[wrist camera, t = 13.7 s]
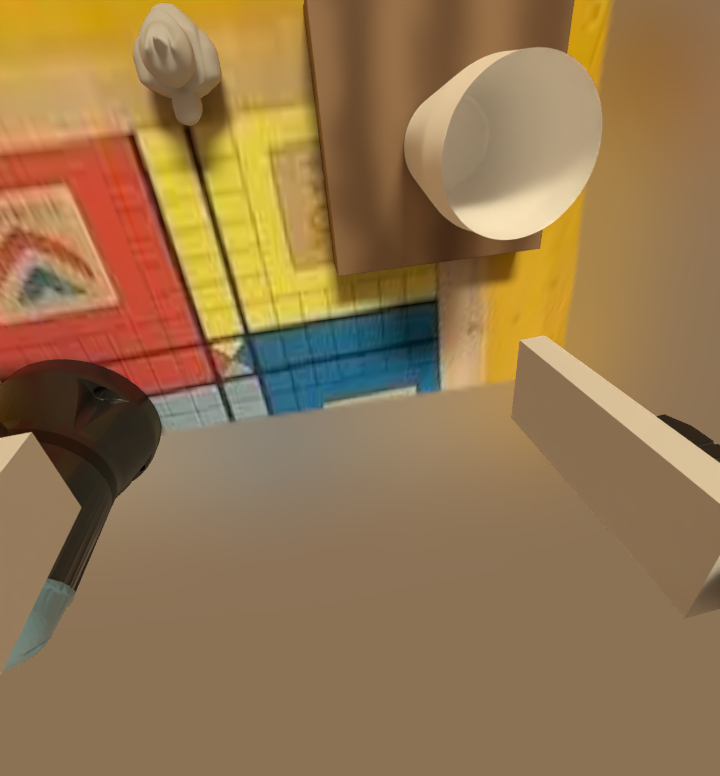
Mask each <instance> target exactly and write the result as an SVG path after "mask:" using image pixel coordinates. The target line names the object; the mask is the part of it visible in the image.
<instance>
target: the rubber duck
mask: <svg viewBox="0 0 720 776" xmlns="http://www.w3.org/2000/svg"><path fill="white" fill-rule="evenodd" d="M133 59H134V63H135V66H136V70H137V73H138V77H139V79H140V81H141V83H142V84H143V85H145V86H146V87H148V88H149V89H151V90H153V91H155V92H157V93H159V94H160V95H162V96H164V97H167V98H171V99H172V105H173V109H174V113H175V117H176V119H177V120H178V121H179V122H180V123H182V124H184V125H188V126H191V125H194V124H196V123H197V122H198V121H199V120H200V118H201V115H202V112H203V107H202V102H201V98H202V97H203V96H205V95H207V94H208V93H210V92H211V90H212V89H213V88H214V87H216V86H217V85H218V84H219V82H220V80H221V68H220V63H219V58H218V53H217V51H216V48H215V46H214V44H213V43H212V41H211V40H210V38H209V37H208V36H207V34H206V33H205V32H204V31H202V30H201V29H200V28H198V26H197V25H196V24H195V23H194V22H193V21H192V20H191V19H190V18H189V17H187V16H186V15H185V14H184V13H183V12H182V11H181V10H180V9H178V8H177V7H176V6H174V5H172V4H169V3H163V4H157V5H155V6H154V7H153V8H152V9H151V10H150V12H149V14H148V15H147V17H146V19H145V20H144V22H143V24H142V26H141V29H140V34H139V35H138V36H137V39H136V41H135V44H134V48H133Z"/></svg>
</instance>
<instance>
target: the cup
mask: <svg viewBox="0 0 720 776" xmlns="http://www.w3.org/2000/svg"><path fill="white" fill-rule="evenodd" d="M601 137H602V109H601V102H600V98H599V94H598V91H597V88H596V86H595V84H594V82H593V80H592V78H591V76H590V75H589V73H588V72H587V70H586V69H585V68H584V67H583V66H582V65H581V64H580V63H579V62H578V61H577V60H576V59H574V58H573V57H572V56H570V55H568V54H566V53H564V52H562V51H559V50H556V49H552V48H546V47H534V48H526V49H520V50H512V51H502V52H497V53H494V54H491V55H488V56H485V57H483V58H481V59H479V60H477V61H475V62H474V63H472V64H470V65H469V66H467V67H466V68H465V69H463V70H462V71H461V72H459V73H458V74H457V75H456V76H454V77H453V78H452V79H451V80H450V81H448V82H447V83H446V84H445V85H444V86H442V87H441V88H440V89H439V90H438V91H436V92H435V93H434V94H433V95H431V96H430V97H429V98H428V99H427V100H425V101H424V102H423V103H422V104H421V105H420V106H419V107H418V109H417V110H416V111H415V113H414V114H413V116H412V118H411V120H410V122H409V125H408V127H407V130H406V135H405V141H404V154H405V160H406V164H407V167H408V169H409V171H410V173H411V175H412V176H413V178H414V179H415V181H416V182H417V183H418V185H419V186H420V187H421V189H422V190H423V191H424V193H425V194H426V195H427V197H428V198H429V199H430V201H431V202H432V203H433V205H434V206H435V207H436V208H437V210H438V211H439V212H440V213H441V214H442V215H443V216H444V217H445V218H446V219H448V220H449V221H450V222H451V223H453V224H455V225H456V226H458V227H460V228H462V229H465V230H468V231H472V232H475V233H477V234H479V235H482V236H484V237H487V238H491V239H497V240H512V239H518V238H523V237H526V236H529V235H531V234H534V233H536V232H538V231H540V230H542V229H544V228H545V227H547V226H548V225H550V224H551V223H553V222H554V221H555V220H557V219H558V218H559V217H560V216H561V215H562V214H563V213H564V212H565V211H566V210H567V209H568V208H569V207H570V206H571V205H572V204H573V202H574V201H575V200H576V199H577V197H578V196H579V194H580V193H581V191H582V190H583V188H584V186H585V185H586V183H587V181H588V179H589V177H590V175H591V173H592V170H593V168H594V165H595V162H596V160H597V156H598V152H599V149H600V143H601Z"/></svg>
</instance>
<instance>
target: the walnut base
mask: <svg viewBox="0 0 720 776" xmlns="http://www.w3.org/2000/svg"><path fill="white" fill-rule="evenodd" d="M573 6H574V0H304V5H303V9H304V17H305V25H306V33H307V42H308V50H309V58H310V67H311V75H312V83H313V91H314V100H315V108H316V116H317V124H318V133H319V141H320V149H321V158H322V166H323V174H324V182H325V191H326V199H327V207H328V215H329V224H330V232H331V240H332V249H333V257H334V264H335V266H336V269H337V272H338V274H339V276H341V275H349V274H356V273H363V272H371V271H378V270H386V269H393V268H400V267H408V266H415V265H422V264H430V263H437V262H445V261H452V260H459V259H467V258H474V257H481V256H489V255H496V254H504V253H511V252H518V251H526V250H533V249H540V245H541V237H542V230H543V229H542V230H540V231H538V232H536V233H534V234H531V235H529V236H526V237H523V238H518V239H512V240H497V239H491V238H487V237H484V236H482V235H479V234H477V233H475V232H472V231H468V230H465V229H462V228H460V227H458V226H456V225H455V224H453V223H451V222H450V221H449V220H448V219H446V218H445V217H444V216H443V215H442V214H441V213H440V212H439V211H438V210H437V208H436V207H435V206H434V205H433V203H432V202H431V201H430V199H429V198H428V197H427V195H426V194H425V193H424V191H423V190H422V189H421V187H420V186H419V185H418V183H417V182H416V181H415V179H414V178H413V176H412V175H411V173H410V171H409V169H408V167H407V164H406V160H405V154H404V141H405V135H406V130H407V127H408V125H409V122H410V120H411V118H412V116H413V114H414V113H415V111H416V110H417V109H418V107H419V106H420V105H421V104H422V103H423V102H424V101H425V100H427V99H428V98H429V97H430V96H431V95H433V94H434V93H435V92H436V91H438V90H439V89H440V88H441V87H442V86H444V85H445V84H446V83H447V82H448V81H450V80H451V79H452V78H453V77H454V76H456V75H457V74H458V73H459V72H461V71H462V70H463V69H465V68H466V67H467V66H469V65H470V64H472V63H474V62H475V61H477V60H479V59H481V58H483V57H485V56H488V55H491V54H494V53H497V52H502V51H512V50H520V49H526V48H534V47H546V48H552V49H556V50H559V51H562V52H564V53H566V54H567V50H568V42H569V35H570V28H571V21H572V14H573Z"/></svg>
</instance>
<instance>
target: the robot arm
mask: <svg viewBox="0 0 720 776" xmlns="http://www.w3.org/2000/svg"><path fill="white" fill-rule="evenodd" d="M511 417H512V419H513V420H514V421H515V422H516V424H517V425H518V426H519V427H520V428H521V430H522V431H523V432H524V433H525V434H526V435H527V436H528V438H529V439H530V440H531V441H532V442H533V443H534V445H535V446H536V447H537V448H538V449H539V450H540V452H541V453H542V454H543V455H544V456H545V457H546V459H547V460H548V461H549V462H550V463H551V464H552V465H553V467H554V468H555V469H556V470H557V471H558V472H559V474H560V475H561V476H562V477H563V478H564V479H565V481H566V482H567V483H568V484H569V485H570V486H571V487H572V489H573V490H574V491H575V492H576V493H577V494H578V496H579V497H580V498H581V499H582V500H583V501H584V503H585V504H586V505H587V506H588V507H589V508H590V510H592V512H593V513H594V514H595V515H596V517H597V518H598V519H599V520H600V521H601V522H602V523H603V525H604V526H605V527H606V528H607V529H608V530H609V532H610V533H611V534H612V535H613V536H614V537H615V538H616V540H617V541H618V542H619V543H620V544H621V545H622V547H623V548H624V549H625V550H626V551H627V552H628V554H629V555H630V556H631V557H632V558H633V559H634V560H635V562H636V563H637V564H638V565H639V566H640V568H641V569H642V570H643V571H644V572H645V573H646V574H647V576H648V577H649V578H650V579H651V580H652V581H653V583H654V584H655V585H656V586H657V587H658V588H659V590H660V591H661V592H662V593H663V594H664V595H665V596H666V598H667V599H668V600H669V601H670V602H671V603H672V605H673V606H674V607H675V608H676V609H677V610H678V612H680V614H681V615H682V616H683V617H684V618H688V617H692V616H695V615H699V614H703V613H706V612H710V611H713V610H717V609H720V445H719V444H716V445H715V444H714V443H713V440H711V439H710V438H708V437H707V436H706V435H704V434H702V433H701V432H700V431H698V430H697V429H695V428H694V427H692V426H691V425H688V424H686V423H683V422H681V421H679V420H676V419H674V418H672V417H669V416H667V415H660V416H654V415H653V414H652V413H650V412H649V411H648V410H646V409H645V408H644V407H642V406H641V405H639V404H638V403H637V402H635V401H634V400H632V399H631V398H630V397H629V396H627V395H626V394H624V393H623V392H622V391H620V390H619V389H618V388H616V387H615V386H613V385H612V384H611V383H609V382H608V381H607V380H605V379H604V378H602V377H601V376H600V375H598V374H597V373H596V372H594V371H593V370H591V369H590V368H589V367H587V366H586V365H585V364H583V363H582V362H581V361H579V360H578V359H576V358H575V357H574V356H572V355H571V354H570V353H568V352H567V351H565V350H564V349H563V348H561V347H560V346H559V345H557V344H556V343H554V342H553V341H552V340H550V339H549V338H548V337H546V336H539V337H534V338H529V339H524V340H520V343H519V352H518V361H517V371H516V380H515V389H514V398H513V407H512V416H511ZM160 436H161V426H160V420H159V417H158V414H157V412H156V410H155V408H154V406H153V404H152V403H151V401H150V400H149V399H148V397H147V396H146V395H145V394H144V393H143V392H142V391H141V390H140V389H139V388H138V387H137V386H136V385H135V384H133V383H132V382H131V381H129V380H128V379H126V378H125V377H123V376H121V375H119V374H118V373H116V372H114V371H112V370H109V369H107V368H104V367H102V366H99V365H95V364H92V363H88V362H83V361H76V360H47V361H41V362H37V363H34V364H31V365H28V366H26V367H23V368H21V369H19V370H18V371H16V372H15V373H13V374H12V375H11V376H10V377H9V378H8V379H6V380H5V381H4V382H3V383H2V384H1V385H0V675H1V673H2V672H3V671H6V670H8V669H11V668H13V667H15V666H17V665H19V664H21V663H23V662H25V661H26V660H28V659H29V658H31V657H33V656H34V655H35V654H36V653H37V652H39V651H40V650H41V649H42V648H43V647H44V646H45V644H46V643H47V642H48V640H49V639H50V638H51V636H52V634H53V632H54V630H55V629H56V627H57V625H58V623H59V621H60V619H61V617H62V615H63V613H64V612H65V610H66V608H67V607H68V606H69V605H70V604H71V602H72V601H73V599H74V595H75V592H76V590H77V587H78V585H79V582H80V580H81V578H82V575H83V573H84V570H85V568H86V566H87V564H88V561H89V559H90V557H91V554H92V552H93V549H94V547H95V545H96V542H97V540H98V537H99V535H100V533H101V531H102V528H103V526H104V523H105V521H106V519H107V516H108V514H109V512H110V509H111V507H112V505H113V503H114V500H115V499H116V498H117V496H118V495H120V494H121V493H122V492H123V491H124V490H125V489H126V488H127V487H128V486H129V485H130V483H131V482H132V481H133V480H135V479H136V478H137V477H139V476H140V475H141V474H142V473H143V471H145V470H146V468H147V467H148V466H149V464H150V463H151V461H152V459H153V457H154V454H155V452H156V449H157V447H158V444H159V441H160Z"/></svg>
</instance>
